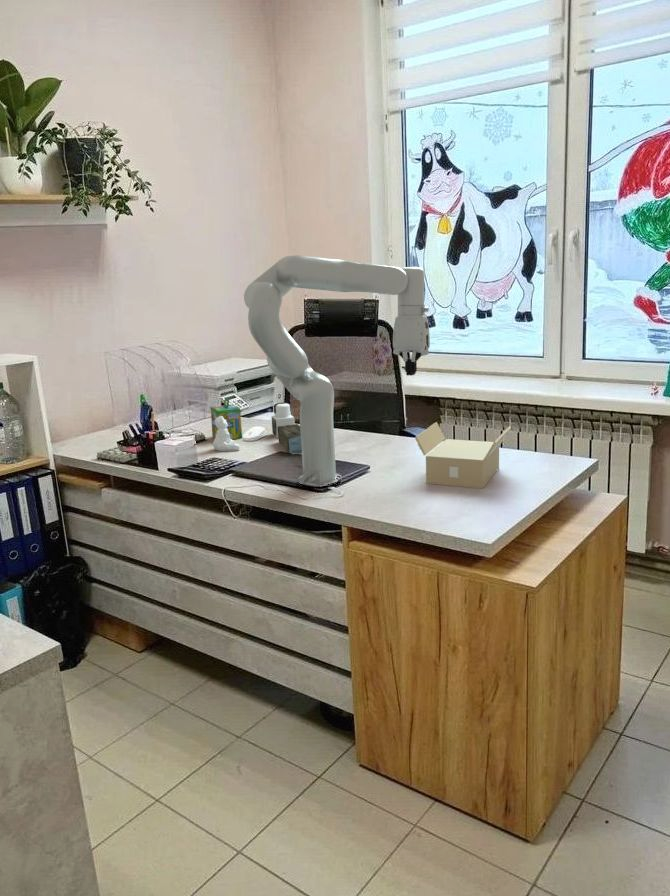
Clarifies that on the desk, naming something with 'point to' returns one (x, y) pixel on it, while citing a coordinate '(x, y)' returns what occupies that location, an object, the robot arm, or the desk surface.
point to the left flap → (430, 438)
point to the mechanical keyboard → (123, 457)
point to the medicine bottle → (281, 417)
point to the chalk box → (229, 414)
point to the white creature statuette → (223, 437)
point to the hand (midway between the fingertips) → (410, 374)
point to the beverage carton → (290, 438)
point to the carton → (461, 463)
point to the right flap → (497, 442)
